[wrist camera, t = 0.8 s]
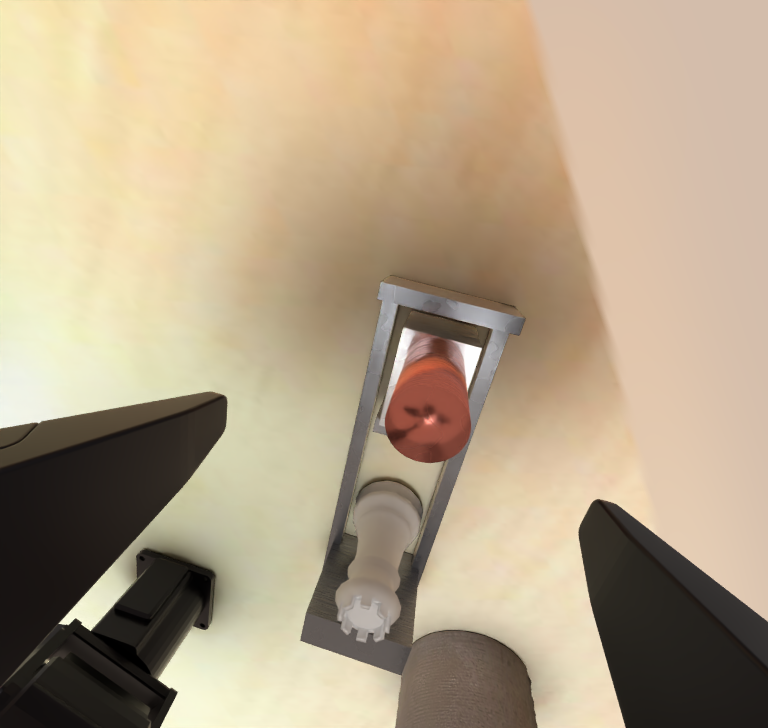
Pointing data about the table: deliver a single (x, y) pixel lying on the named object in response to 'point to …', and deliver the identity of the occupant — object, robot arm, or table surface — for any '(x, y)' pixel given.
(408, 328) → the ram
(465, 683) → the pillar candle
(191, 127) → the table surface
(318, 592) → the press bed
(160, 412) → the robot arm
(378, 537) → the rook chess piece
